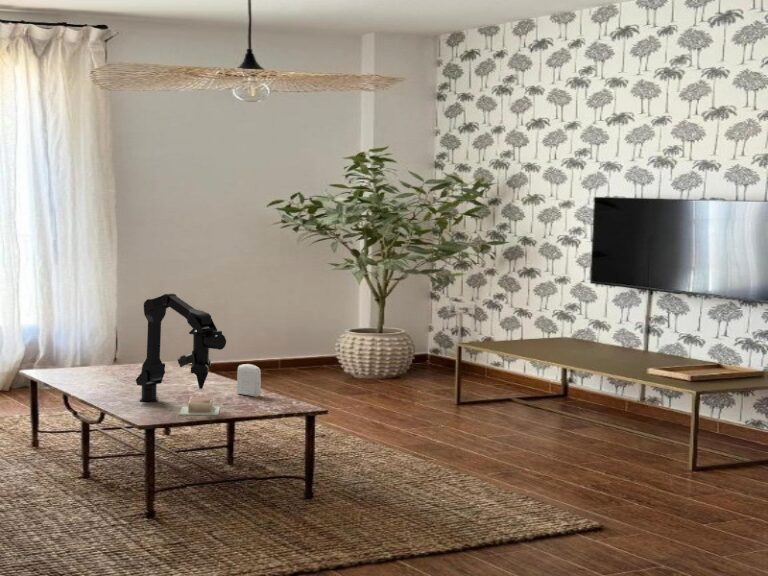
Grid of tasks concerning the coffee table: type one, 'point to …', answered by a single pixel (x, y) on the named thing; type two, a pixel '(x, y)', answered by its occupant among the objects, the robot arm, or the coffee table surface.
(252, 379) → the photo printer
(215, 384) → the coffee table surface
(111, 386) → the coffee table surface
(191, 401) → the birch tile
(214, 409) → the mat
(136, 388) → the coffee table surface
